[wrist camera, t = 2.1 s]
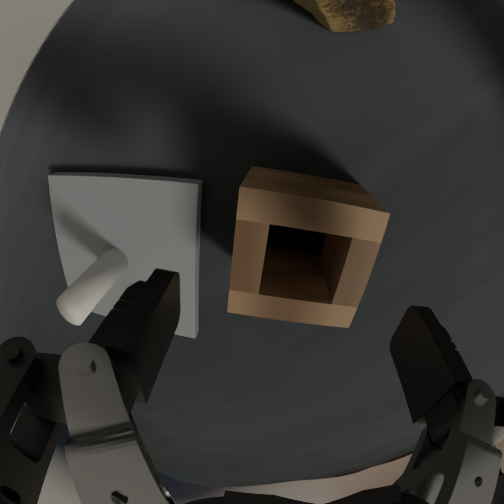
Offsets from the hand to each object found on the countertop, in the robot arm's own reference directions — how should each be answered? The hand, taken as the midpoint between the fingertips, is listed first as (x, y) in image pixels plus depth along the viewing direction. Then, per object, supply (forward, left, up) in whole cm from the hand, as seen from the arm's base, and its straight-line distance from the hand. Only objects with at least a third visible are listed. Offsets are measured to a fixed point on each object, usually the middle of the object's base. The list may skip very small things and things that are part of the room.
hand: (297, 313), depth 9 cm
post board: (+11, +4, -9) cm, 15 cm away
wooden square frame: (-1, 0, -9) cm, 9 cm away
